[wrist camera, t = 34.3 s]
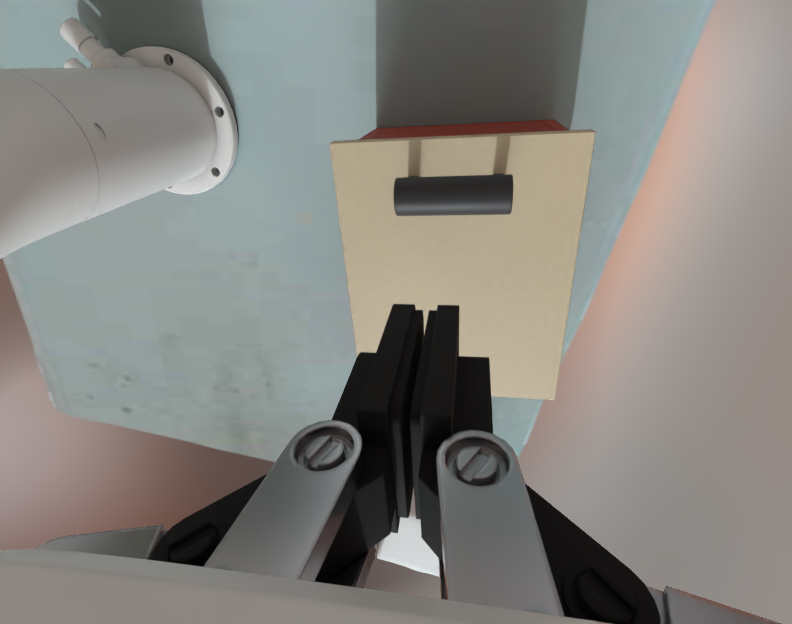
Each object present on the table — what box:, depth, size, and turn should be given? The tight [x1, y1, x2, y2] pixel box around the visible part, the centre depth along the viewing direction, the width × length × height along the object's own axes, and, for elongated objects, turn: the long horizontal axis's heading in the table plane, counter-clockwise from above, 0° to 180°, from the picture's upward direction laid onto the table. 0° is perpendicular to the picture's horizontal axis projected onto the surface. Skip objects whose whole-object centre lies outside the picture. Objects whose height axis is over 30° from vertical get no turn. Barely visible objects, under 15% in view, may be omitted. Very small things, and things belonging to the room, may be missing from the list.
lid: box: [330, 129, 596, 400], centre depth 27 cm, size 19×15×5 cm
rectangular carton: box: [377, 489, 439, 576], centre depth 49 cm, size 9×9×15 cm
